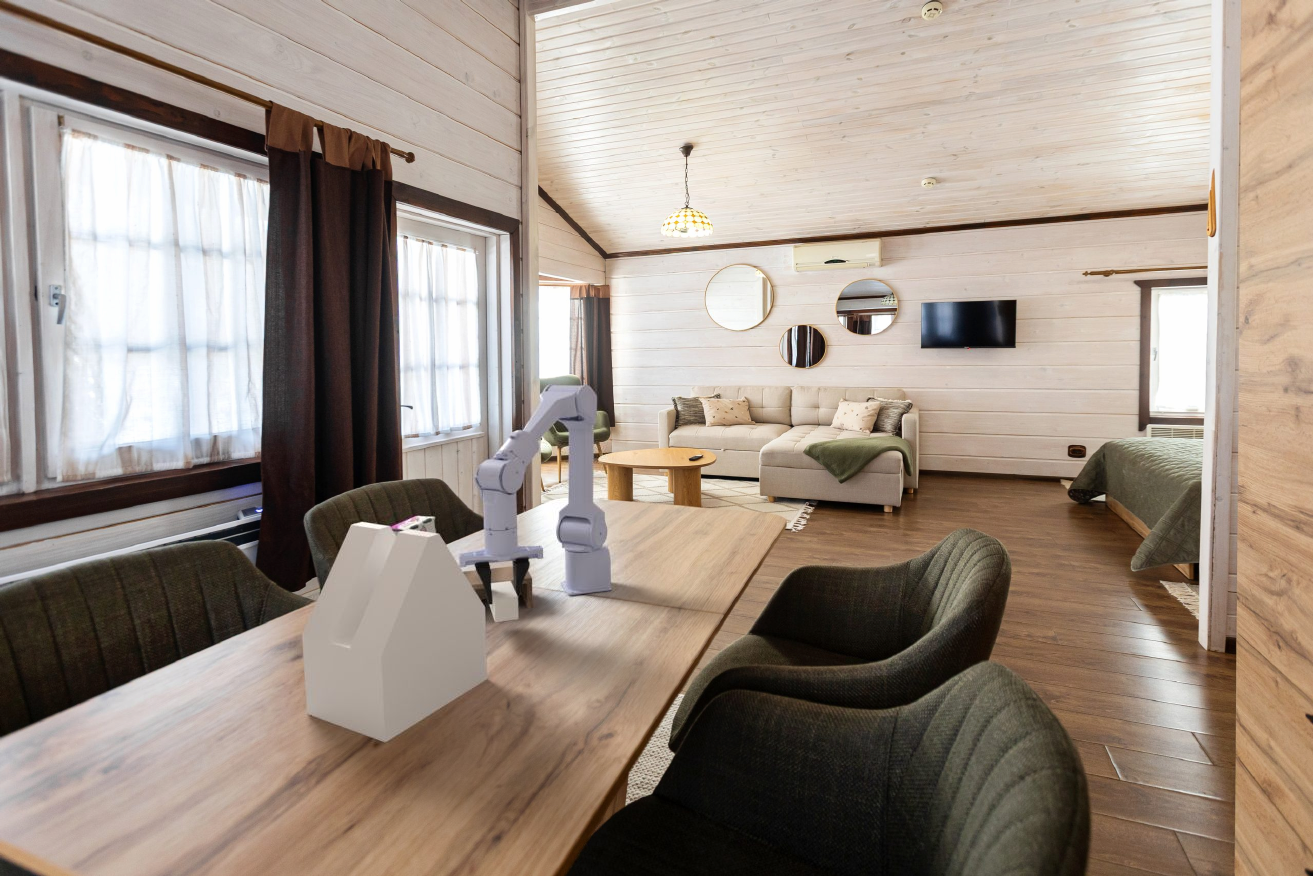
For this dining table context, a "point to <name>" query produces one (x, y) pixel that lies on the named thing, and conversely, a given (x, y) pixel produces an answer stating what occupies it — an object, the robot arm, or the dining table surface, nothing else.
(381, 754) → the dining table surface
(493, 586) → the block
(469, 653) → the white tapered slotted holder
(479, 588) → the cubby
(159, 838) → the dining table surface
